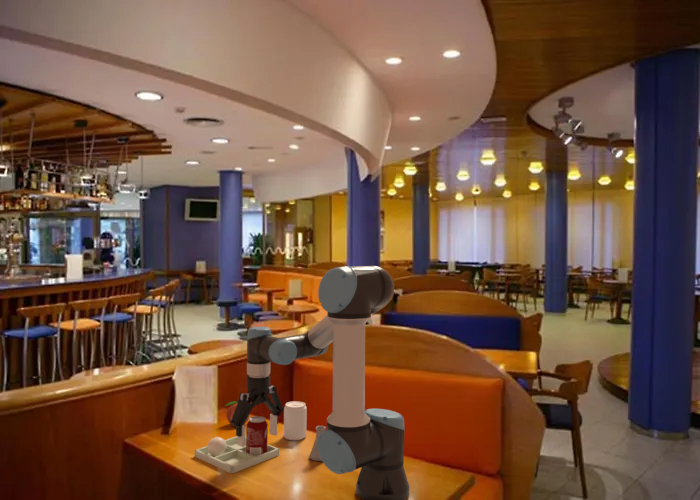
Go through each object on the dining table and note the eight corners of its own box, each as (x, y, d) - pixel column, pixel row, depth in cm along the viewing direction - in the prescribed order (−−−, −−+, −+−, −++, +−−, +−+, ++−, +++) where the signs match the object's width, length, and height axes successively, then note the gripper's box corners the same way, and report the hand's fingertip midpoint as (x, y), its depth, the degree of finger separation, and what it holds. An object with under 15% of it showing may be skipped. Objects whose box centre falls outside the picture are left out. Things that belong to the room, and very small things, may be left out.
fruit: (248, 429, 207) (248, 402, 206) (222, 429, 206) (223, 402, 206) (251, 421, 215) (252, 395, 215) (227, 421, 215) (227, 395, 215)
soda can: (262, 460, 176) (263, 423, 175) (242, 458, 177) (243, 421, 177) (270, 452, 182) (270, 416, 182) (250, 450, 184) (251, 414, 183)
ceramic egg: (230, 455, 179) (230, 437, 179) (214, 461, 175) (214, 442, 174) (218, 450, 183) (219, 432, 183) (203, 456, 178) (203, 437, 178)
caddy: (279, 457, 180) (279, 448, 180) (231, 476, 166) (232, 467, 166) (241, 443, 193) (241, 434, 193) (194, 459, 178) (194, 450, 178)
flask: (304, 459, 180) (305, 428, 180) (316, 451, 186) (316, 422, 186) (324, 463, 177) (324, 432, 176) (335, 455, 183) (335, 426, 183)
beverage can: (280, 435, 201) (281, 402, 201) (301, 432, 205) (302, 399, 204) (287, 442, 194) (288, 408, 194) (309, 439, 197) (310, 406, 197)
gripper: (279, 366, 191) (278, 427, 192) (219, 380, 172) (218, 447, 173) (294, 370, 186) (293, 432, 187) (234, 384, 167) (234, 454, 168)
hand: (257, 440), depth 180 cm, fingers open, 13 cm apart
